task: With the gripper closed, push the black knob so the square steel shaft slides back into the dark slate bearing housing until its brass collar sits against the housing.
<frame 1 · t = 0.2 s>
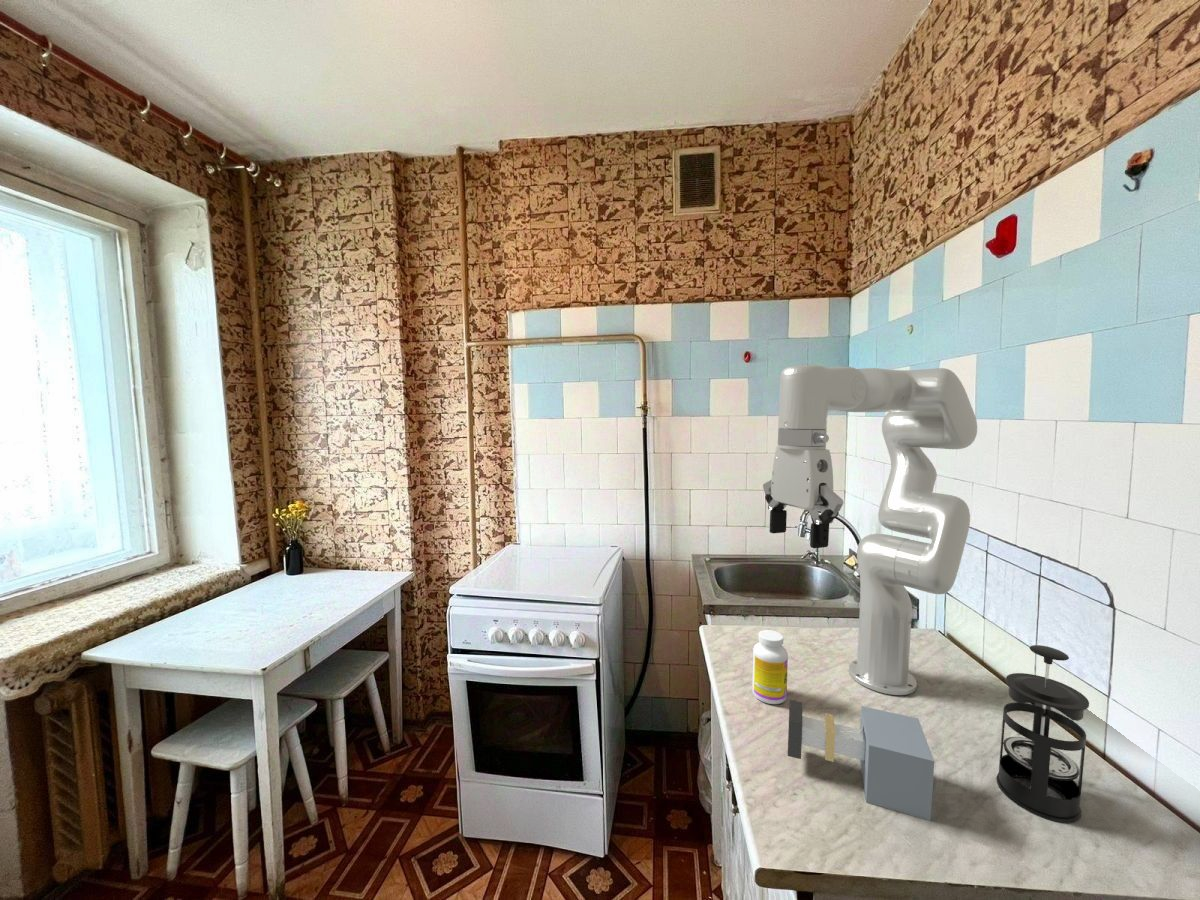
hand: (797, 539, 80), 36 cm above the kitchen counter, tool pointing down, fingers open, 9 cm apart
housing: (891, 786, 73), on the kitchen counter
french press: (1036, 795, 71), on the kitchen counter
shaft: (837, 738, 75), point 6 cm above the kitchen counter, slide at 4.0 cm
supplement bottle: (769, 696, 96), on the kitchen counter
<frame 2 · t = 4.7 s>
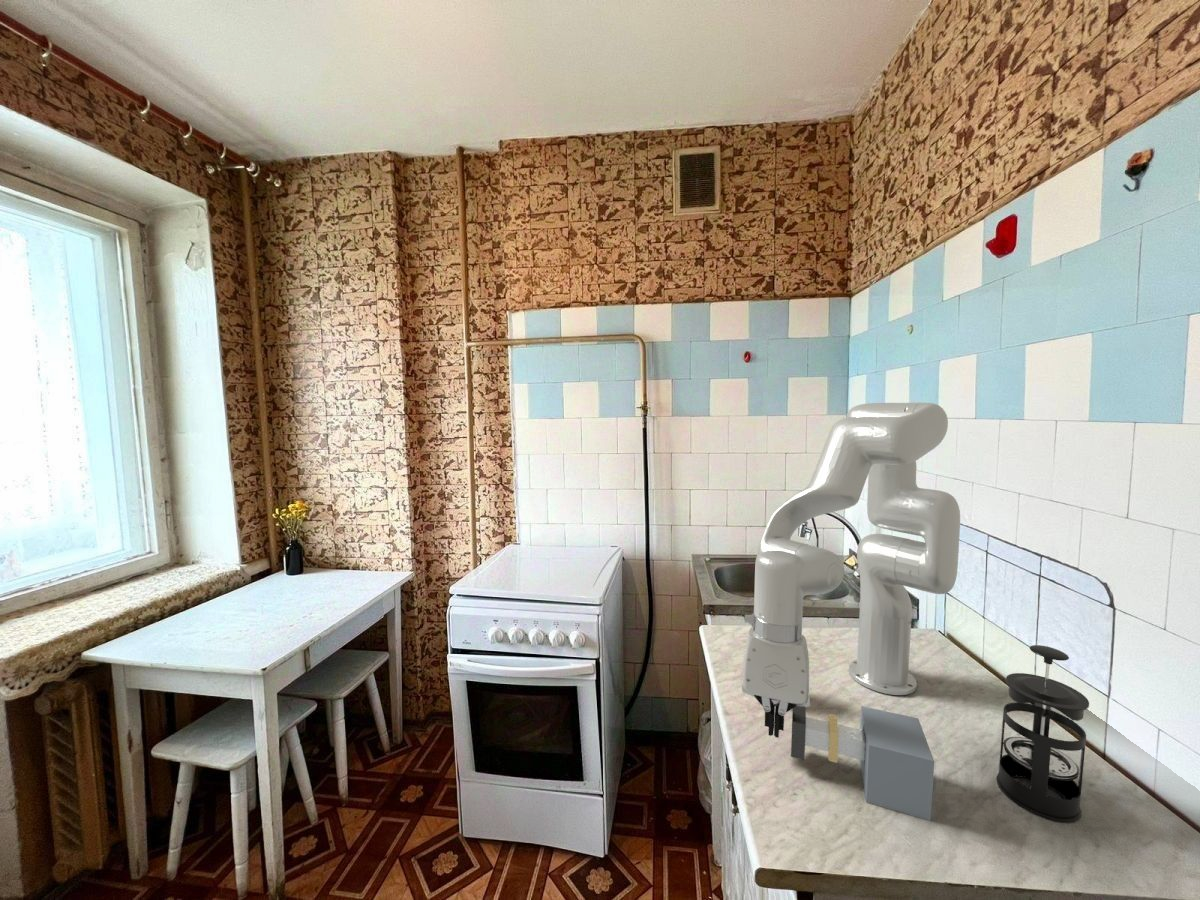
hand: (774, 731, 79), 4 cm above the kitchen counter, tool pointing down, fingers closed
shaft: (840, 739, 75), point 6 cm above the kitchen counter, slide at 3.5 cm, touching gripper
everything else where it was.
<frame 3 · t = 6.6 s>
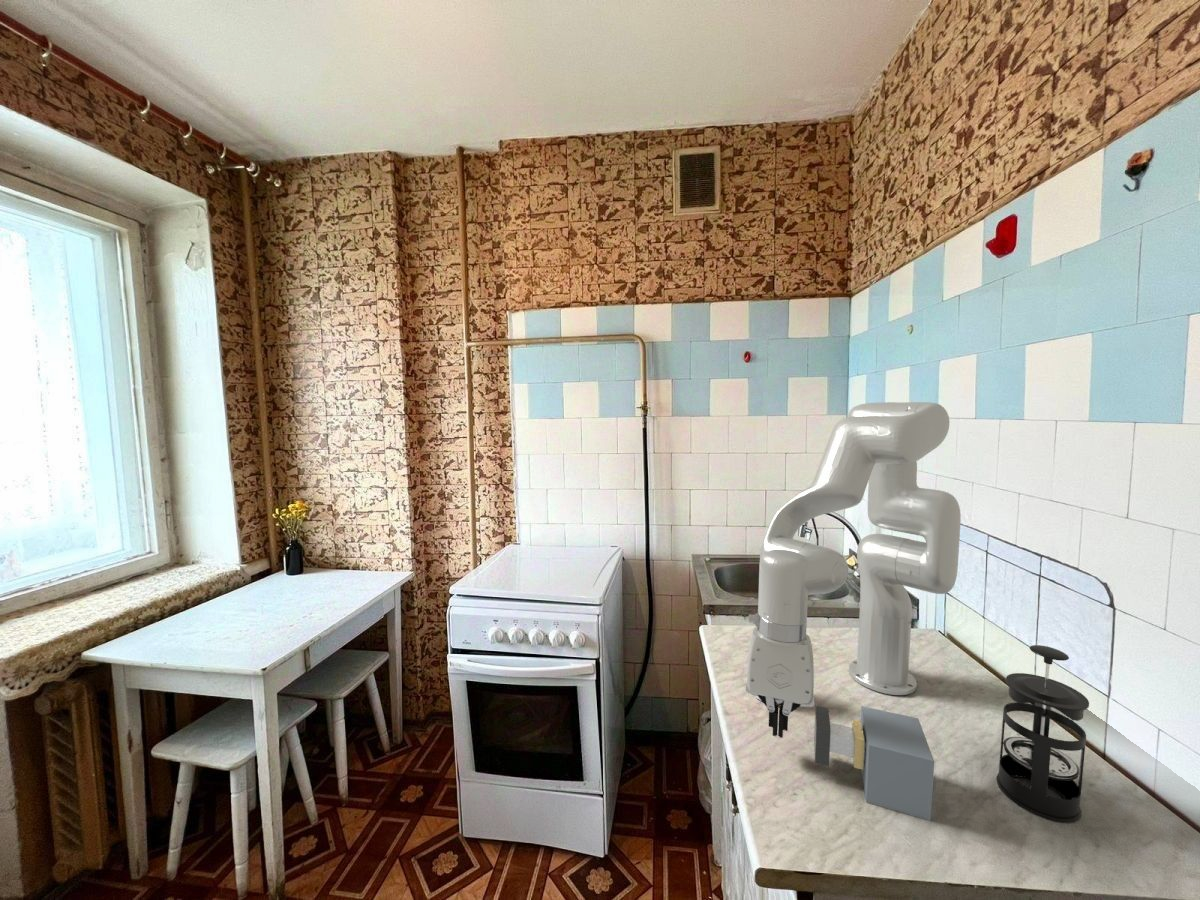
hand: (777, 731, 79), 4 cm above the kitchen counter, tool pointing down, fingers closed
shaft: (865, 745, 74), point 6 cm above the kitchen counter, slide at 0.0 cm
everything else where it was.
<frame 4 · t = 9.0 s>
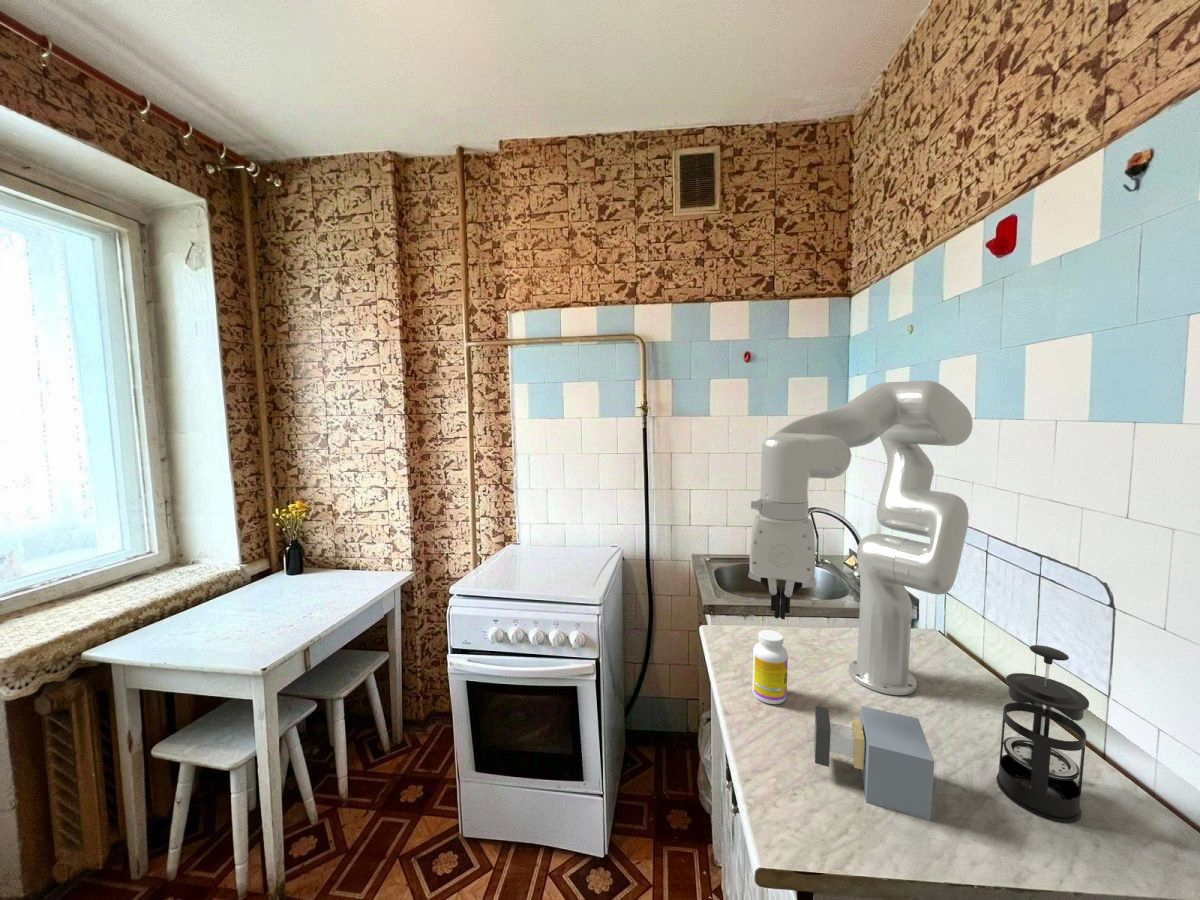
hand: (780, 615, 80), 23 cm above the kitchen counter, tool pointing down, fingers closed
nothing on the kitchen counter moved.
at the end: shaft slide at 0.0 cm; supplement bottle moved 0.2 cm from its start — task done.
